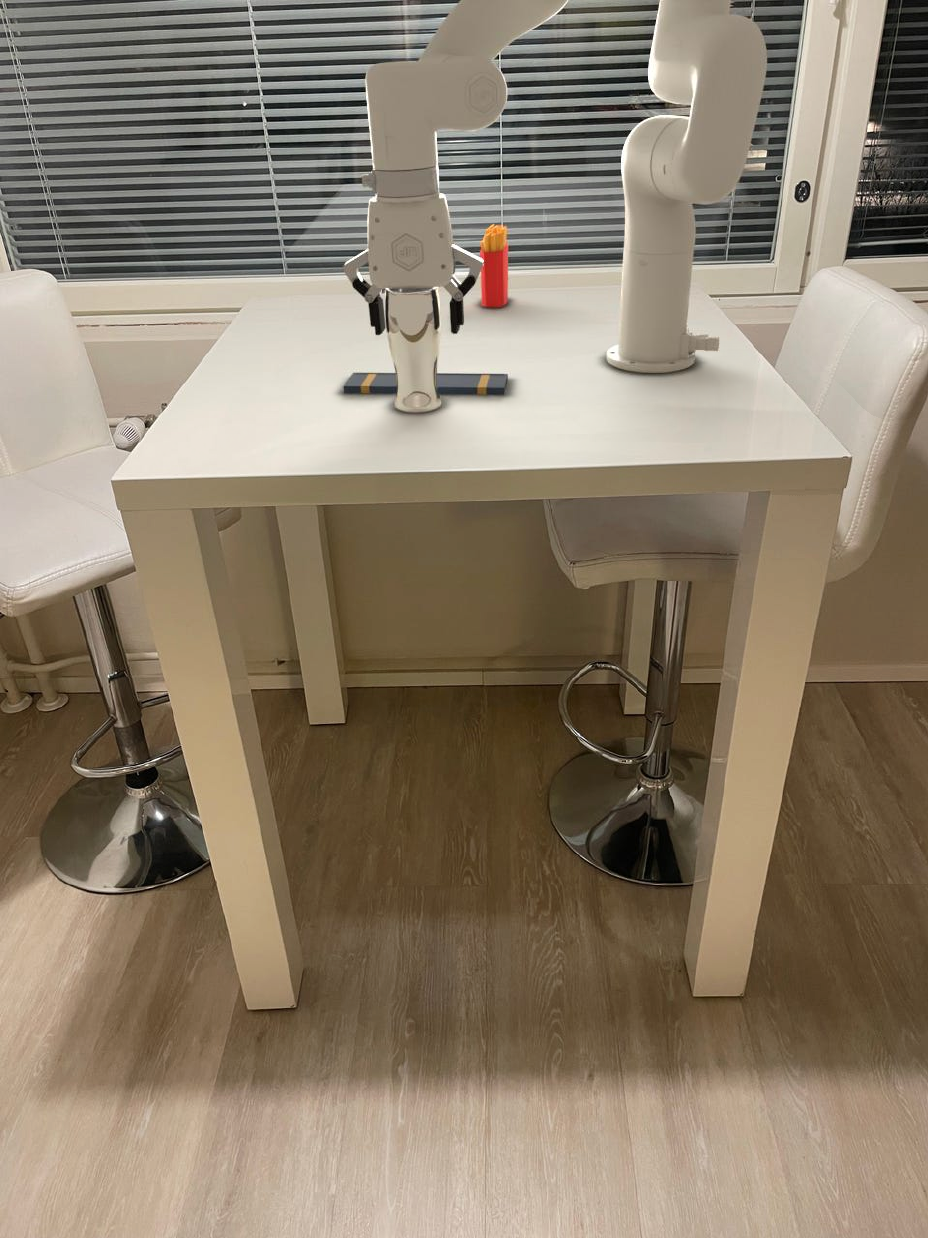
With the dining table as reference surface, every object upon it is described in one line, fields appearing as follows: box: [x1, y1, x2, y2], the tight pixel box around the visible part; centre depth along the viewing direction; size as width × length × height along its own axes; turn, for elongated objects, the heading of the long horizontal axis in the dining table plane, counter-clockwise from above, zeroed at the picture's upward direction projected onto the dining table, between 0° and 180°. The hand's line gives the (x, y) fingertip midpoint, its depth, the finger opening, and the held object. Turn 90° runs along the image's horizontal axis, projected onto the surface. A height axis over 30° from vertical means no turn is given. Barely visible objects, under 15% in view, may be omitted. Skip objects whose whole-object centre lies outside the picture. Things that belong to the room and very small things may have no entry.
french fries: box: [479, 223, 509, 308], centre depth 167 cm, size 9×4×13 cm, turn 168°
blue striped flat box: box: [343, 372, 509, 396], centre depth 130 cm, size 22×6×1 cm, turn 83°
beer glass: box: [384, 287, 442, 414], centre depth 120 cm, size 7×7×15 cm
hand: (418, 331), depth 119 cm, fingers open, 9 cm apart
